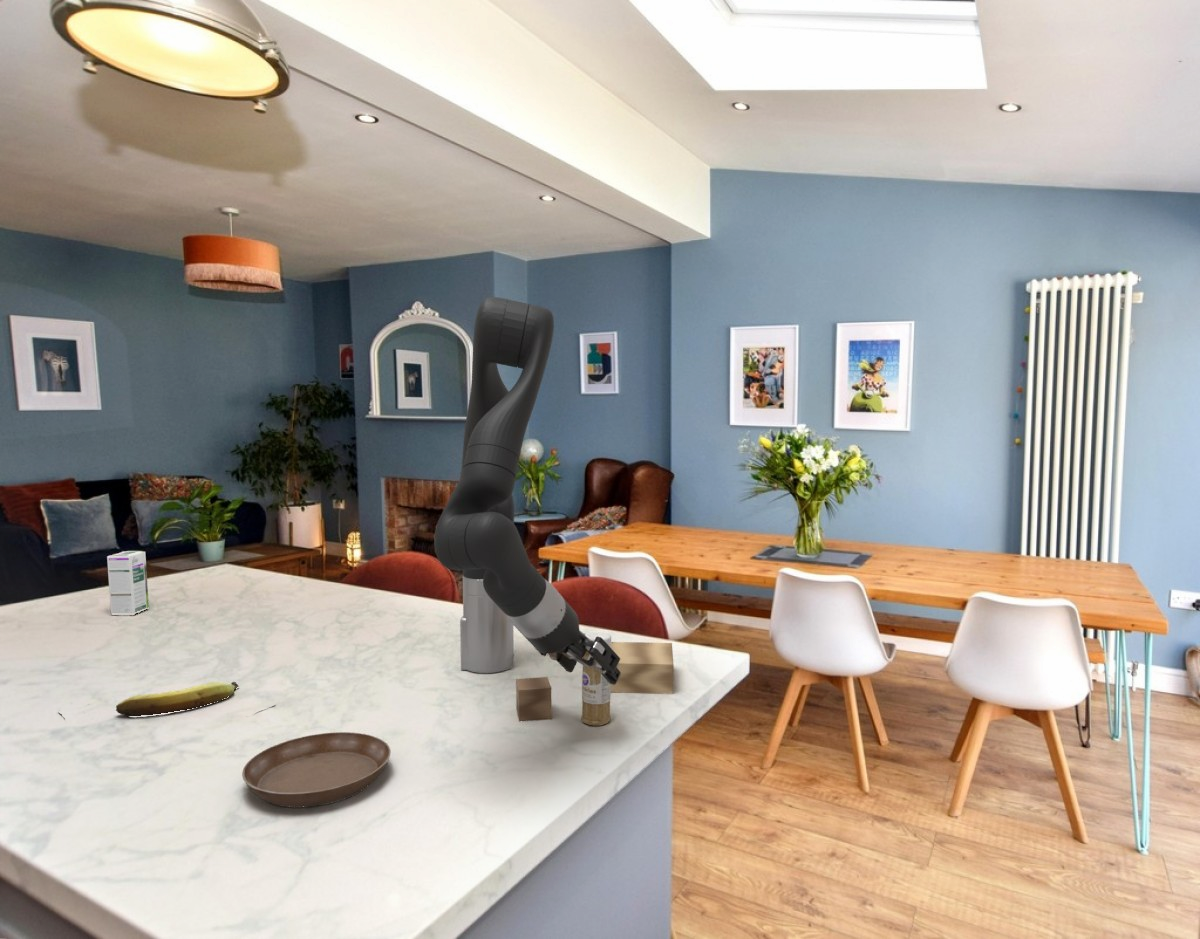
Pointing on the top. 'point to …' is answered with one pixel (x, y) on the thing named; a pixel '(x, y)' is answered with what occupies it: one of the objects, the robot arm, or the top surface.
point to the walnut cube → (533, 699)
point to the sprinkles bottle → (595, 689)
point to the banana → (176, 699)
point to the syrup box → (128, 582)
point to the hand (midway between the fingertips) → (593, 672)
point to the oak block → (644, 667)
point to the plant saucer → (316, 768)
